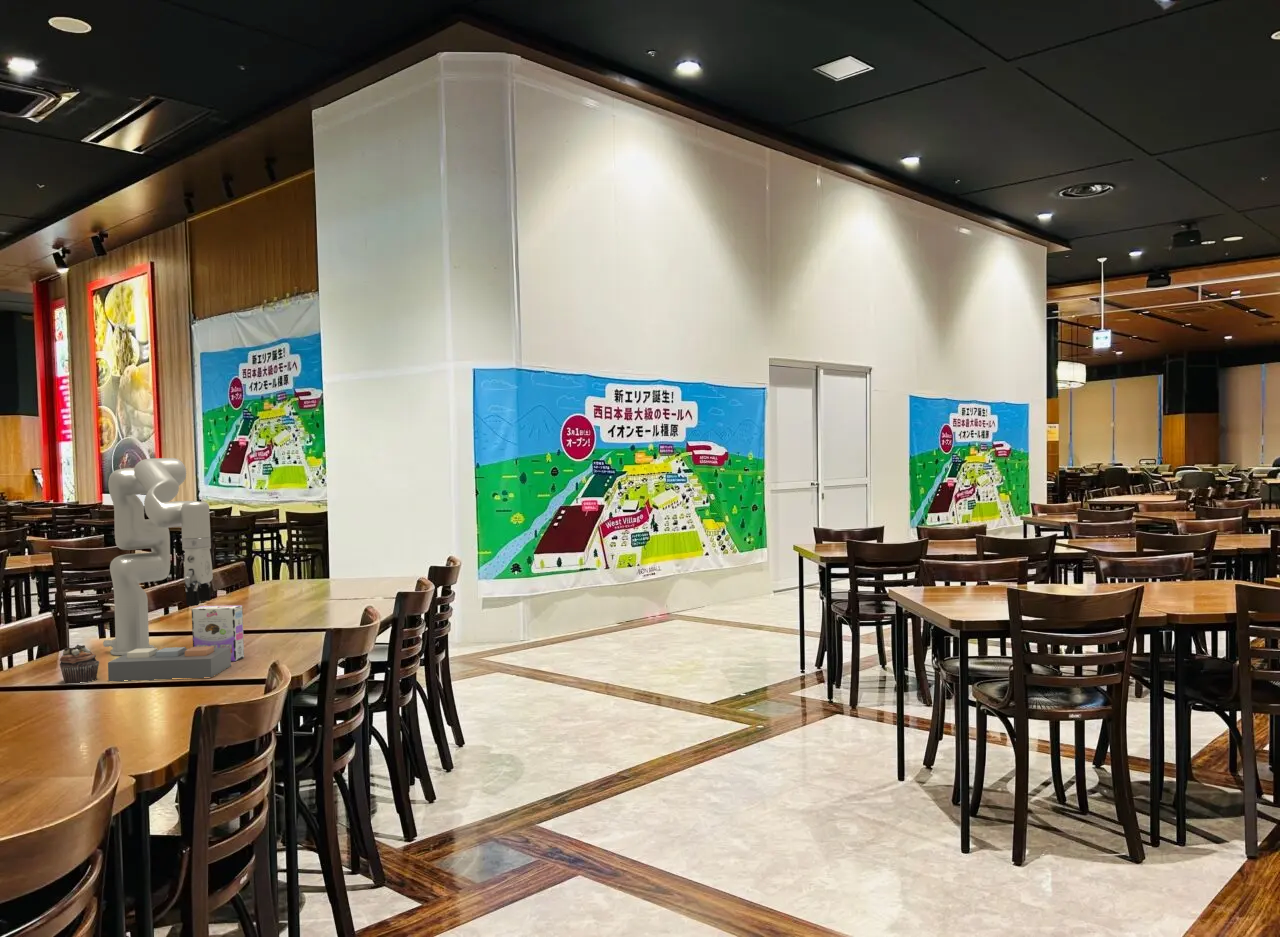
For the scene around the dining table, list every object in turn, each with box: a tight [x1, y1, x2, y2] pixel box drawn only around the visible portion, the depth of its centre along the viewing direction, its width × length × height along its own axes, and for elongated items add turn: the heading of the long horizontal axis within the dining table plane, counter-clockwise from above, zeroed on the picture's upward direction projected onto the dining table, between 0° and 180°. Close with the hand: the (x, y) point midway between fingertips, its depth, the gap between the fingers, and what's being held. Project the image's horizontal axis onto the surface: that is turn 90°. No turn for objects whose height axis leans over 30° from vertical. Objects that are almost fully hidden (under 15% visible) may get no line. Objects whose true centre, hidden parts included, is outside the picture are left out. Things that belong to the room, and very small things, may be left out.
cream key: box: [127, 647, 159, 658], centre depth 281 cm, size 6×6×4 cm
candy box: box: [190, 605, 245, 662], centre depth 300 cm, size 14×6×16 cm, turn 84°
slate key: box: [156, 646, 187, 657], centre depth 281 cm, size 6×6×4 cm
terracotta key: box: [185, 646, 214, 656], centre depth 282 cm, size 6×6×4 cm
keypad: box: [107, 647, 232, 682], centre depth 281 cm, size 28×16×6 cm, turn 94°
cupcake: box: [59, 644, 100, 684], centre depth 275 cm, size 10×10×10 cm
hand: (198, 603), depth 282 cm, fingers open, 9 cm apart
